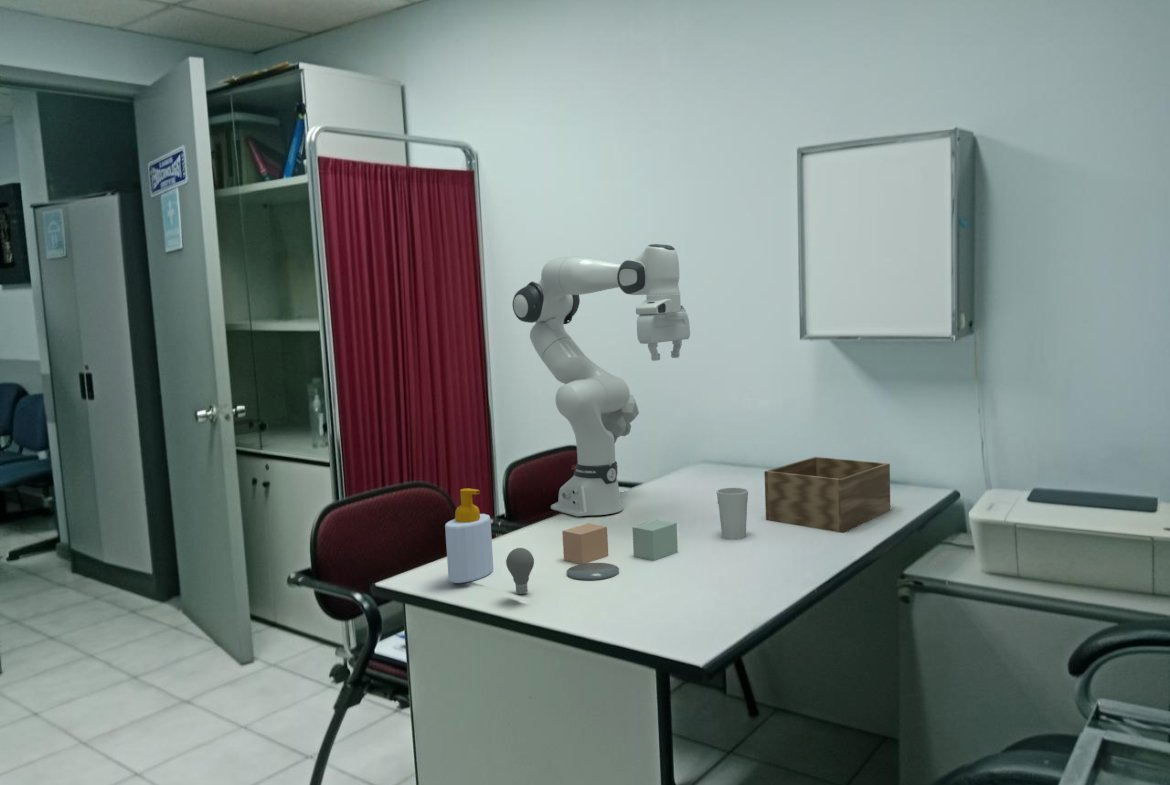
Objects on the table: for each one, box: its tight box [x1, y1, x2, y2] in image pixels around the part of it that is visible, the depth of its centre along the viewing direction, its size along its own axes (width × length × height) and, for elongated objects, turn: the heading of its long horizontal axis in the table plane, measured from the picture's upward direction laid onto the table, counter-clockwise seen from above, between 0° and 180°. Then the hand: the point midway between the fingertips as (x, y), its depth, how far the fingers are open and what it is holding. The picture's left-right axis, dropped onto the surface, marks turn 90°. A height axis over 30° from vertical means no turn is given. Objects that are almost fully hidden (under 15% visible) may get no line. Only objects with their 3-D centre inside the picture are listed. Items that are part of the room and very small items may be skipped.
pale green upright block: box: [632, 519, 679, 561], centre depth 223 cm, size 6×9×7 cm
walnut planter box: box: [763, 456, 891, 534], centre depth 250 cm, size 23×26×14 cm
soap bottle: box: [444, 487, 494, 584], centre depth 213 cm, size 13×8×20 cm, turn 148°
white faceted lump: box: [601, 394, 640, 444], centre depth 282 cm, size 20×16×35 cm
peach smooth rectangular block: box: [561, 523, 609, 565], centre depth 223 cm, size 6×9×7 cm
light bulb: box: [505, 547, 535, 595], centre depth 198 cm, size 6×6×10 cm
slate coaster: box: [566, 562, 620, 582], centre depth 211 cm, size 12×12×1 cm
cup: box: [716, 487, 749, 541], centre depth 236 cm, size 8×8×12 cm
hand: (665, 359), depth 242 cm, fingers open, 8 cm apart
